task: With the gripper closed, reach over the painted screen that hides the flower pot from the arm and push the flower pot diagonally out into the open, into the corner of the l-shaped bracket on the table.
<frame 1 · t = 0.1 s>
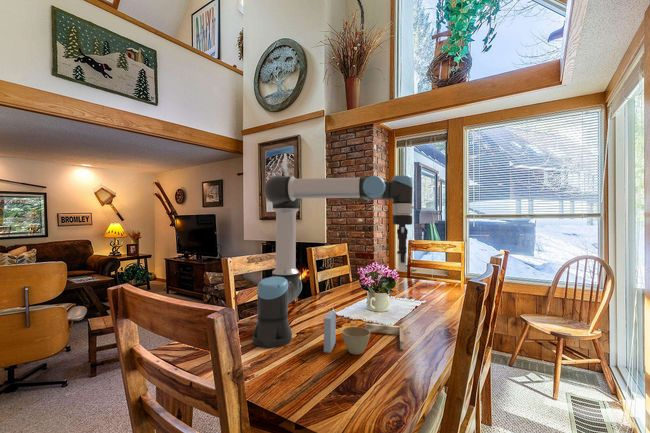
hand: (402, 268, 117), 28 cm above the table, fingers open, 13 cm apart
screen: (329, 347, 109), on the table
l-shaped bracket: (383, 339, 117), on the table
flower pot: (355, 352, 106), on the table
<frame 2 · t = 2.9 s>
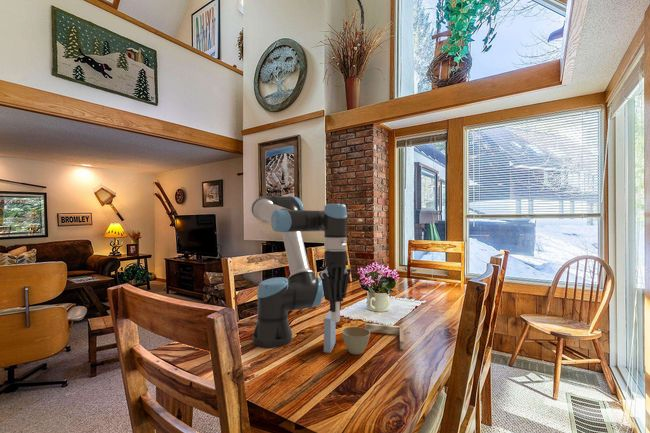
hand: (335, 320, 99), 13 cm above the table, fingers closed
nothing on the table moved.
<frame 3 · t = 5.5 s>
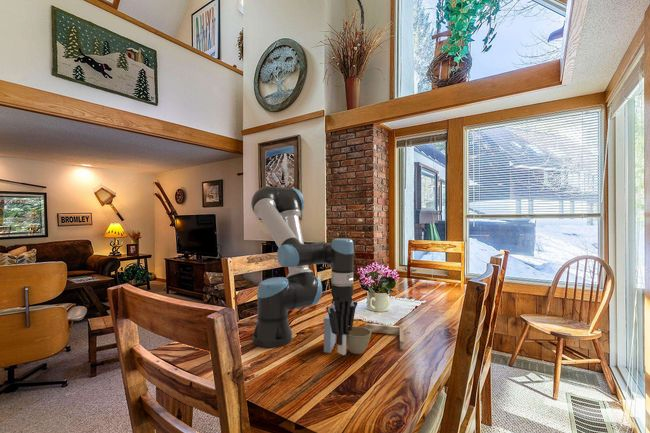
hand: (341, 353, 101), 2 cm above the table, fingers closed
flower pot: (356, 351, 106), on the table, touching gripper
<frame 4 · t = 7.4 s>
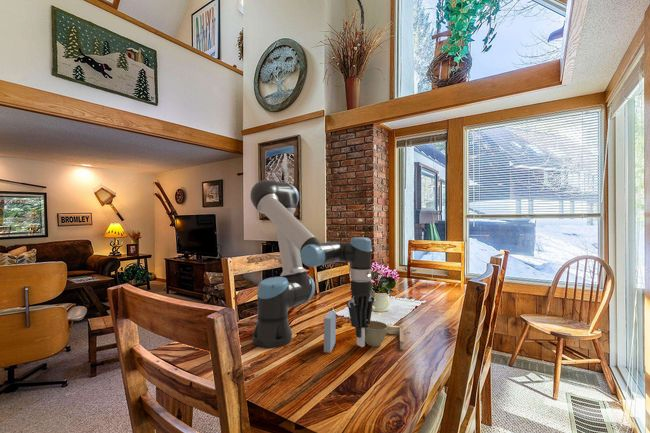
hand: (360, 345, 107), 2 cm above the table, fingers closed
flower pot: (373, 344, 112), on the table, touching gripper
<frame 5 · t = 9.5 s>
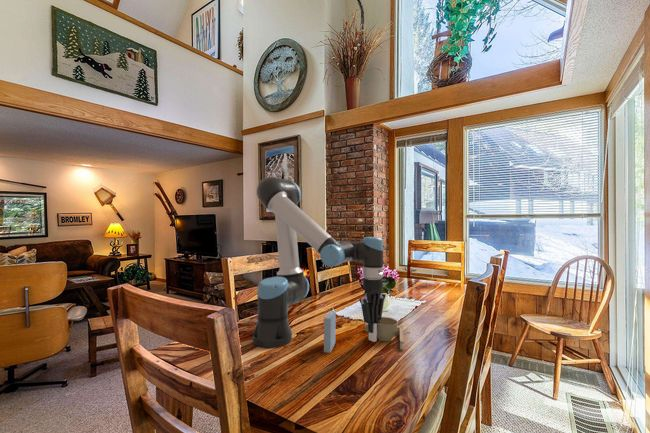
hand: (372, 340, 112), 2 cm above the table, fingers closed
flower pot: (384, 339, 117), on the table, touching gripper
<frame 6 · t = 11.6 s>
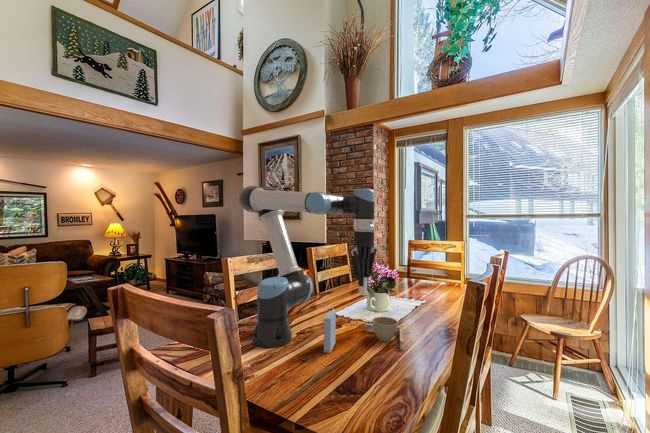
hand: (362, 294, 109), 19 cm above the table, fingers closed
flower pot: (384, 339, 117), on the table
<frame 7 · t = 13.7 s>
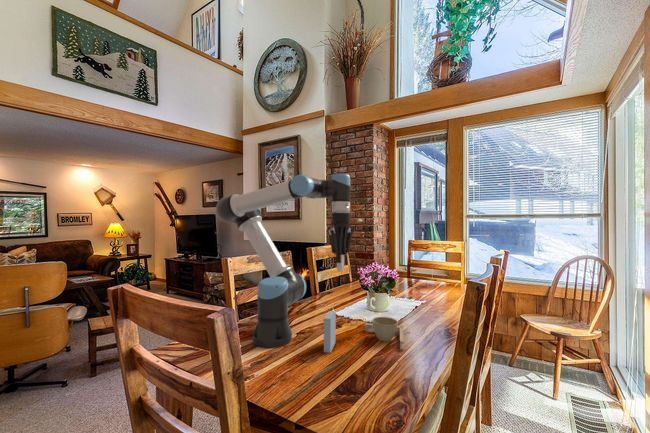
hand: (340, 270, 120), 26 cm above the table, fingers closed
nothing on the table moved.
at the end: flower pot inside the target area on the l-shaped bracket (0.9 cm from its centre), point 0.0 cm above the l-shaped bracket's base; flower pot tilted 0°; flower pot moved 16.8 cm from its start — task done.
